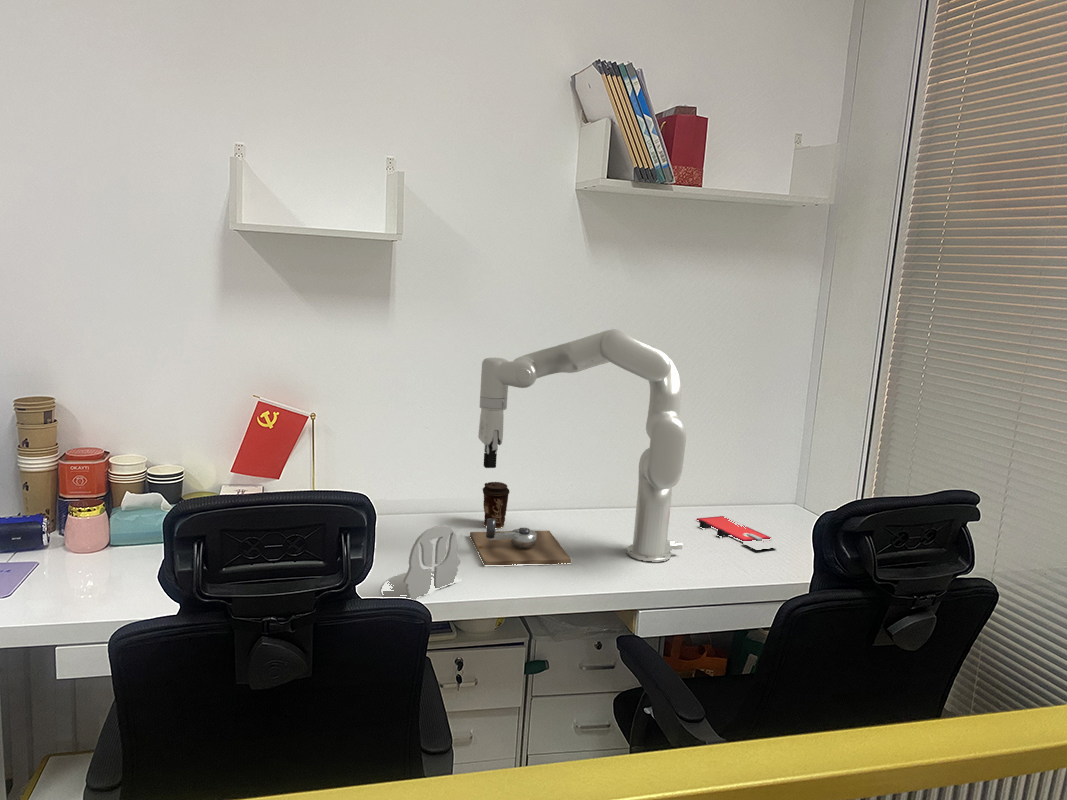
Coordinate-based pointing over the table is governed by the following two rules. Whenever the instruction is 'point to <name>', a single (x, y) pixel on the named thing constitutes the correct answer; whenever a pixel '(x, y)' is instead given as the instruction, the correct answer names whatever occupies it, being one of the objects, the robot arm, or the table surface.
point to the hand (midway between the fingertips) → (489, 467)
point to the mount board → (519, 550)
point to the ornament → (427, 564)
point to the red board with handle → (731, 529)
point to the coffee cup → (495, 502)
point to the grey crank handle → (512, 535)
